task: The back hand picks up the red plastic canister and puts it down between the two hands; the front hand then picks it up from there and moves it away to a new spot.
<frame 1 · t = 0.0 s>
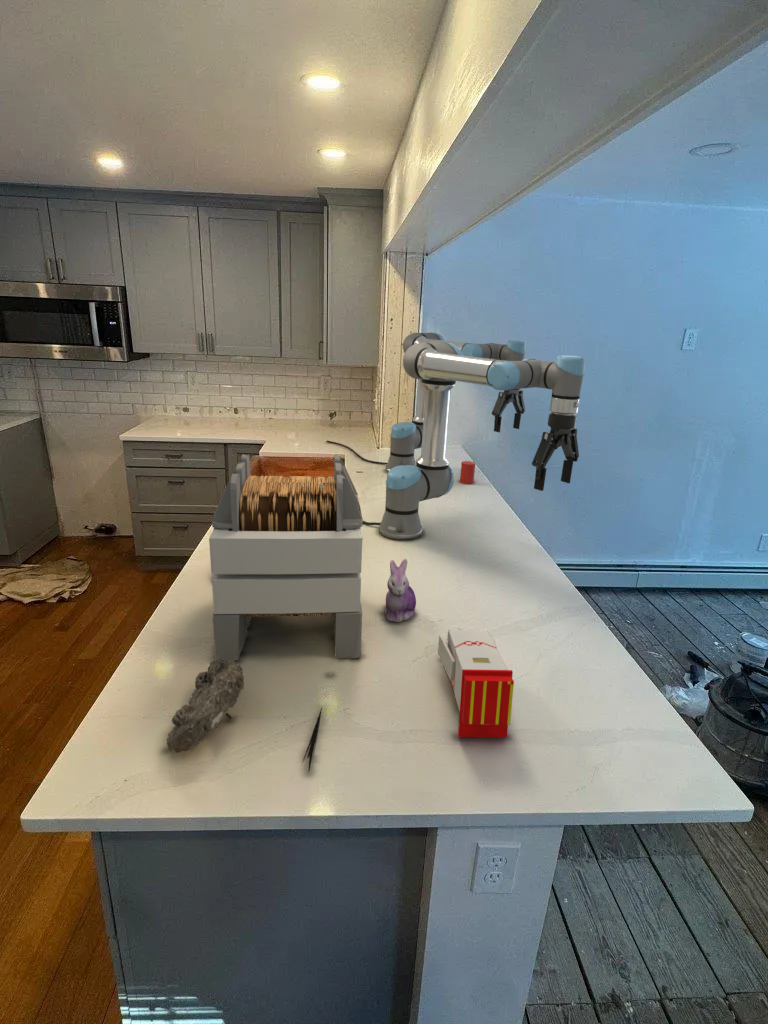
front hand: (552, 485, 166), 28 cm above the counter, tool pointing down, fingers open, 13 cm apart
back hand: (506, 430, 241), 28 cm above the counter, tool pointing down, fingers open, 13 cm apart
toy: (469, 691, 119), on the counter
feather: (319, 719, 109), on the counter
record crate: (291, 621, 142), on the counter
figurine: (399, 614, 147), on the counter
canister: (466, 481, 264), on the counter
fossil: (212, 717, 108), on the counter
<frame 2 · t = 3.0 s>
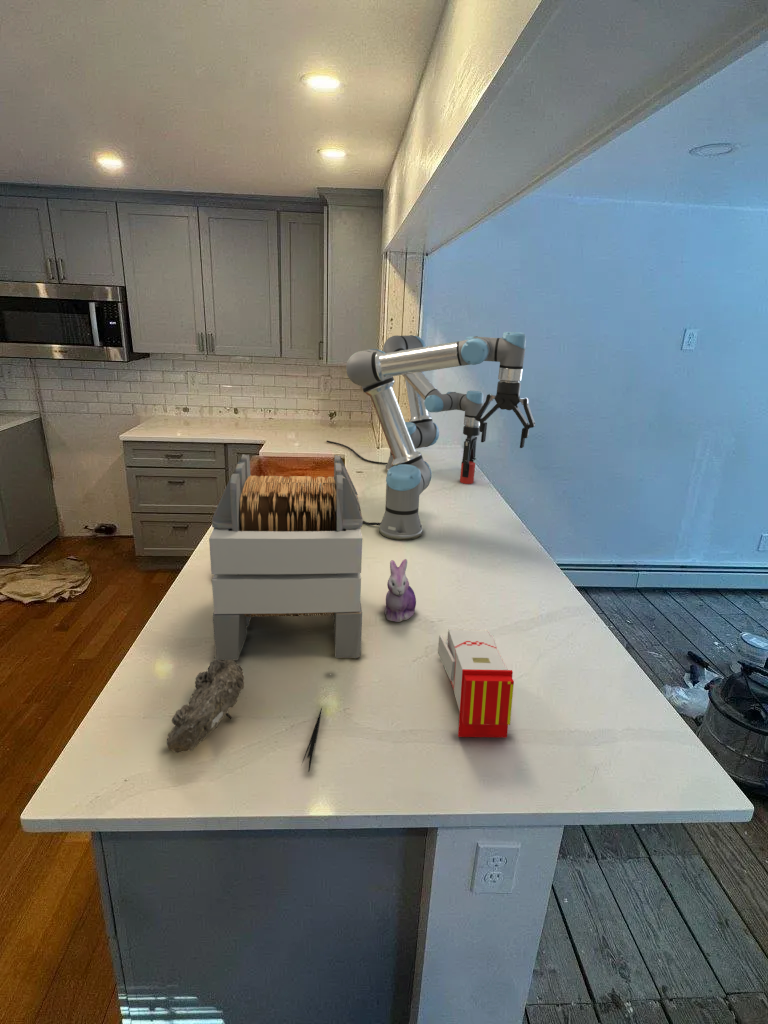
front hand: (502, 444, 194), 32 cm above the counter, tool pointing down, fingers open, 13 cm apart
back hand: (467, 475, 263), 3 cm above the counter, tool pointing down, fingers closed on canister, 6 cm apart
canister: (466, 481, 264), on the counter, touching back hand
everything else where it was.
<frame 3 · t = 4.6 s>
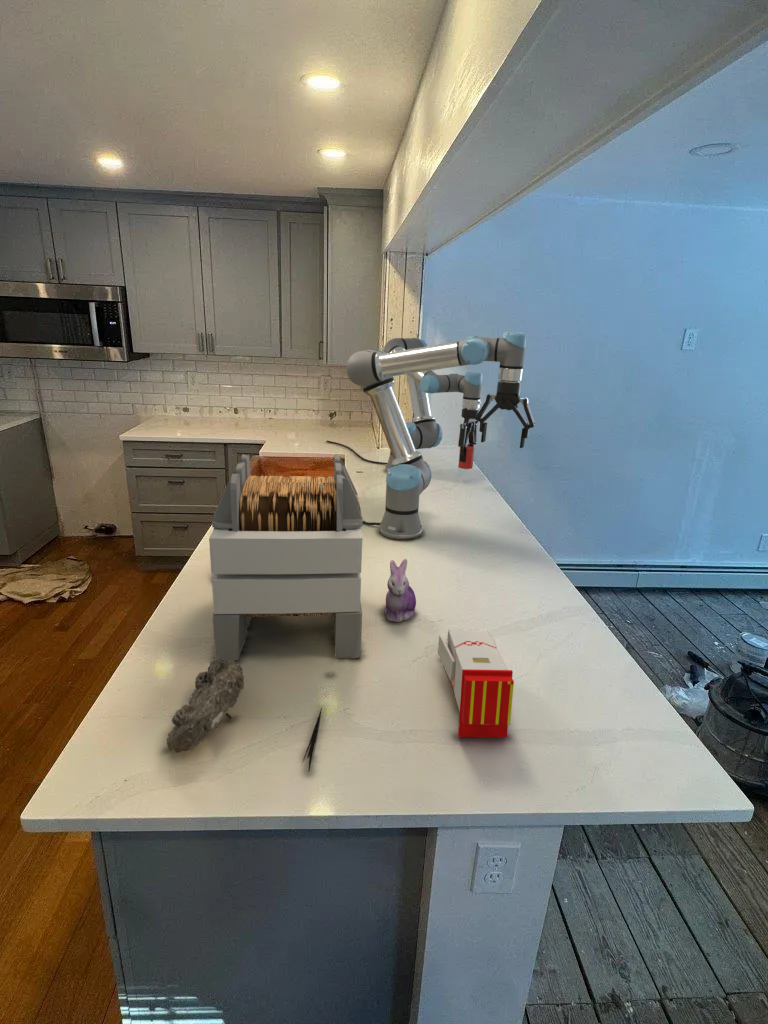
front hand: (502, 444, 194), 32 cm above the counter, tool pointing down, fingers open, 13 cm apart
back hand: (465, 459, 255), 12 cm above the counter, tool pointing down, fingers closed on canister, 6 cm apart
canister: (465, 467, 256), point 9 cm above the counter, touching back hand
everything else where it was.
when the back hand's fingers open (5 cm above the counter, at t = 6.6 s): canister drops 1 cm, on the counter.
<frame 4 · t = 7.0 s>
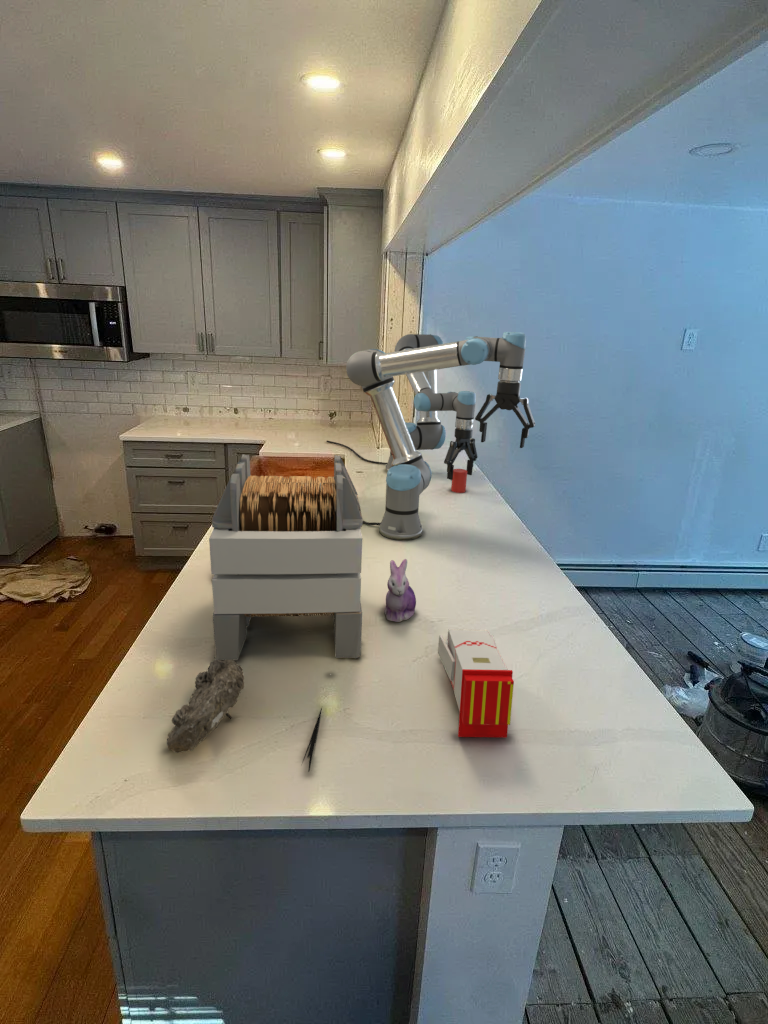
front hand: (502, 444, 194), 32 cm above the counter, tool pointing down, fingers open, 13 cm apart
back hand: (459, 477, 249), 6 cm above the counter, tool pointing down, fingers open, 12 cm apart
canister: (458, 490, 251), on the counter
everything else where it was.
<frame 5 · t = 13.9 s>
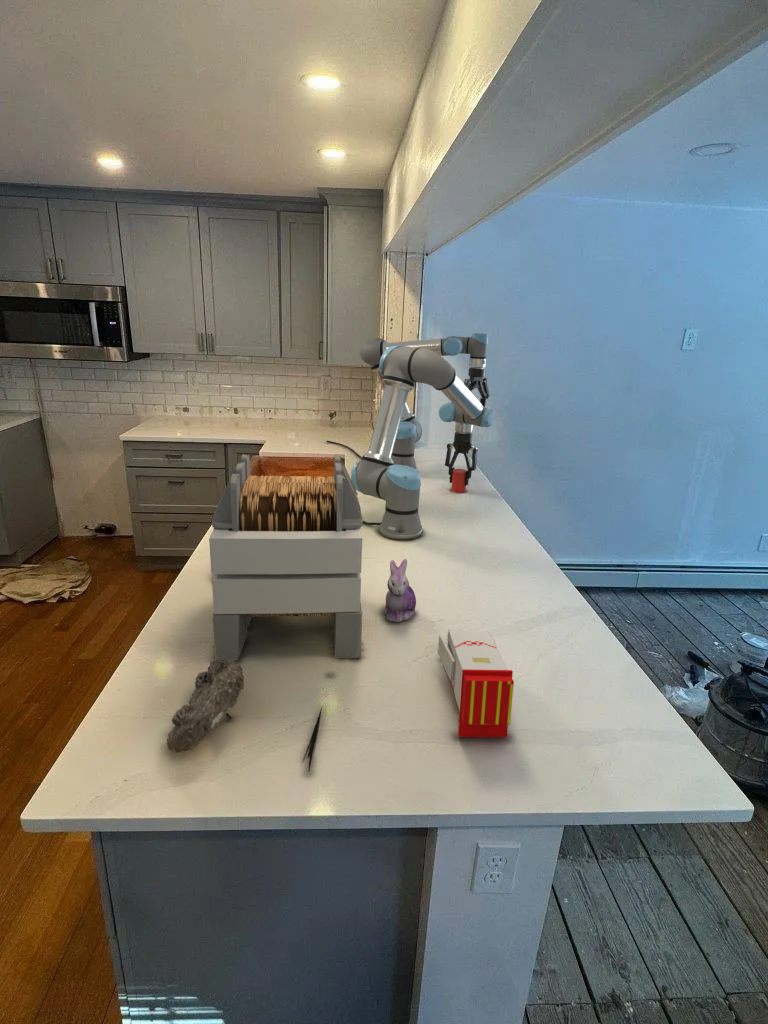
front hand: (458, 483, 250), 3 cm above the counter, tool pointing down, fingers closed on canister, 6 cm apart
back hand: (472, 413, 272), 29 cm above the counter, tool pointing down, fingers open, 13 cm apart
canister: (458, 490, 251), on the counter, touching front hand
everything else where it was.
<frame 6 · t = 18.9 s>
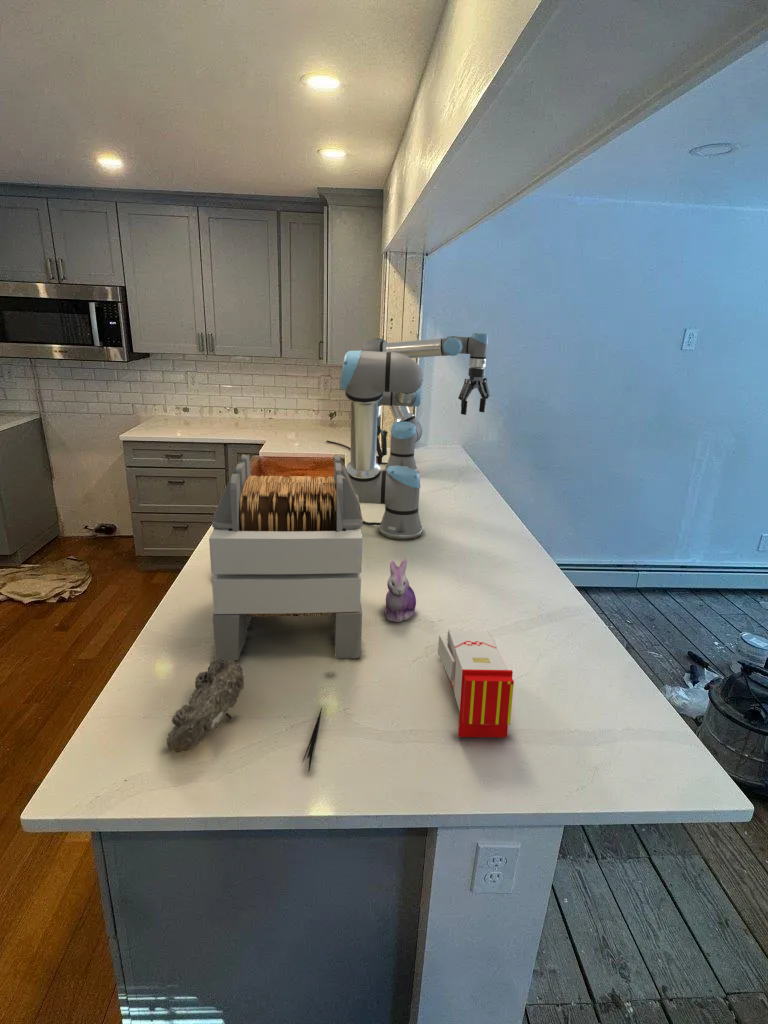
front hand: (369, 472, 229), 12 cm above the counter, tool pointing down, fingers closed on canister, 6 cm apart
back hand: (472, 413, 272), 29 cm above the counter, tool pointing down, fingers open, 13 cm apart
canister: (369, 480, 230), point 8 cm above the counter, touching front hand
everything else where it was.
when the front hand's fingers open (5 cm above the counter, at t = 24.3 s): canister drops 1 cm, on the counter.
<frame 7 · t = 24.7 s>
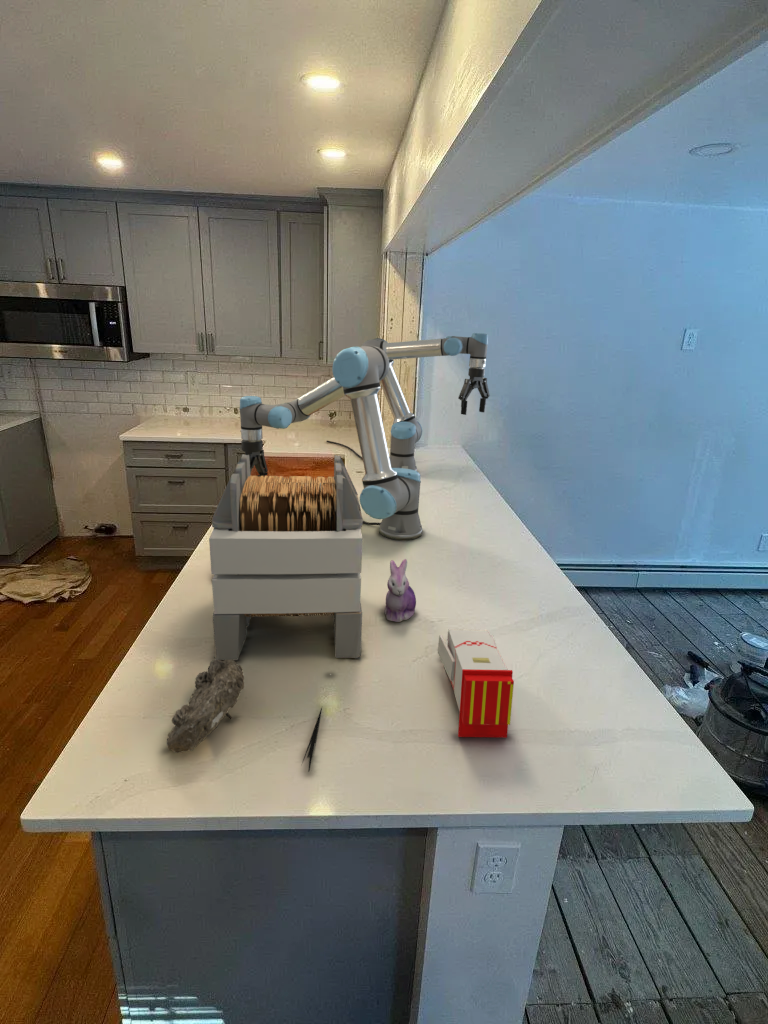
front hand: (254, 496, 212), 6 cm above the counter, tool pointing down, fingers open, 12 cm apart
back hand: (472, 413, 272), 29 cm above the counter, tool pointing down, fingers open, 13 cm apart
canister: (254, 512, 214), on the counter
everything else where it was.
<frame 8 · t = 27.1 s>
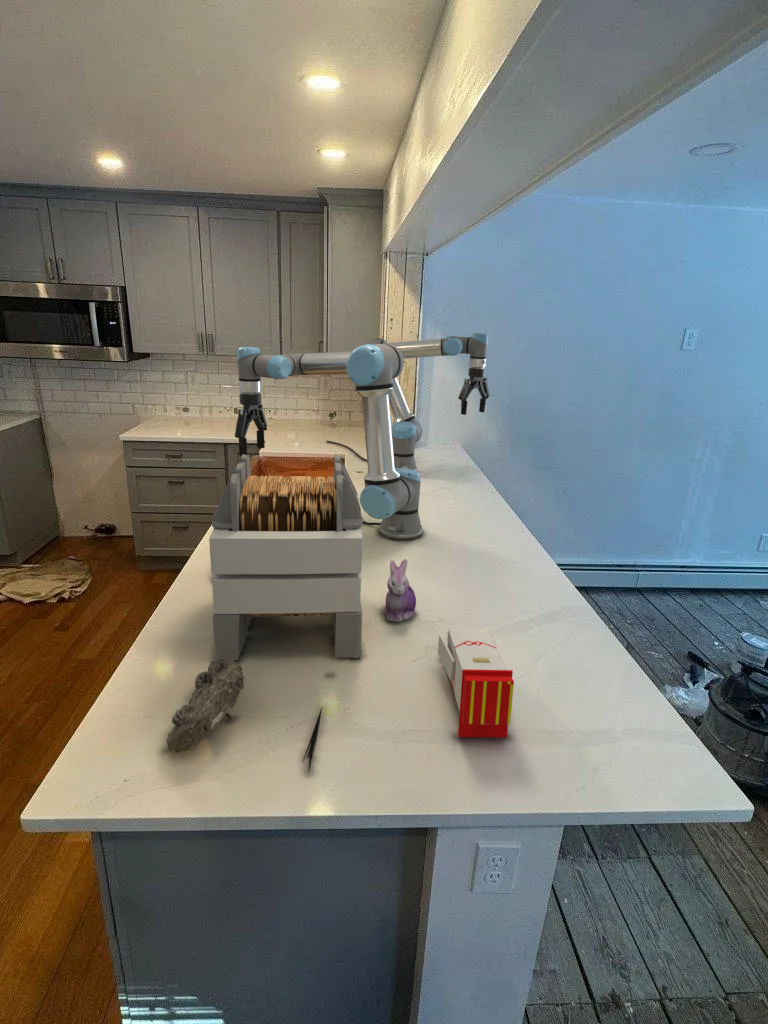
front hand: (252, 451, 206), 23 cm above the counter, tool pointing down, fingers open, 13 cm apart
back hand: (472, 413, 272), 29 cm above the counter, tool pointing down, fingers open, 13 cm apart
nothing on the counter moved.
at the end: canister inside the target area (0.1 cm from its centre), on the counter; canister tilted 0°; the two hands never held the canister at the same time; the front hand is holding nothing; the back hand is holding nothing; canister at rest at the end (0.0 cm/s) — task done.
